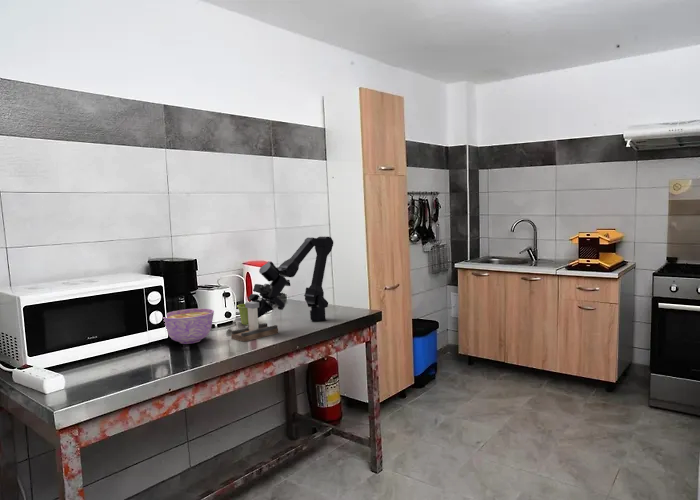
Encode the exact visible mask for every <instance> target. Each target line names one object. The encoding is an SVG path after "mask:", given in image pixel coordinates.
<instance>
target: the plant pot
mask: <svg viewBox="0 0 700 500" xmlns="http://www.w3.org/2000/svg"><path fill="white" fill-rule="evenodd" d="M236 307H237V308H238V311H239V317H240V321H241V325H246V326H247V325H248V326H249V323H248V308H246V307H245V303H240V304H238V305H237V306H236Z"/></svg>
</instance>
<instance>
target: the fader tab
mask: <svg viewBox="0 0 700 500" xmlns="http://www.w3.org/2000/svg"><path fill="white" fill-rule="evenodd" d="M244 304H245V307H246V308H248V323H249V325H248V327H249V331H253V330H257V329H259V328H258V325H259V318H258V312H257V308H259V302H252V301H251V300H250V301H248V302H247V301H246V302H245V303H244Z"/></svg>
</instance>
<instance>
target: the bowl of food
mask: <svg viewBox="0 0 700 500" xmlns="http://www.w3.org/2000/svg"><path fill="white" fill-rule="evenodd" d="M214 312H215V311H214V310H213V309H211V308H187V309H179V310H173V311H169V312H167V318H166V317H162V320H163V319H164V320H163V323H164V322H165V323H164V326H166V327H165V330H166V329H167V330H166V331H167V335H168V336H169V338H171V340H173V341H174V342H178V343H179V344H182V345H189V344H195V343H199V342H201V341H202V340H203V339H205V338H206V337H208V335H209V334H210V332H211V330H212V326H213V325H212V324H213V320H214V314H215V313H214Z"/></svg>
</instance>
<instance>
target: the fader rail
mask: <svg viewBox="0 0 700 500" xmlns="http://www.w3.org/2000/svg"><path fill="white" fill-rule="evenodd" d="M258 328H259V329H257V330H253V331H249V326H247V327H243V328H238V329H234V330H231V334H230V336H231V339H232V340H236V341H239V342H248V341H251V340H256V339H260V338H263V337H269V336H272V335H277V334H279V328H278V325H277V324H274V325H270V326H268V323H266V322H265V323H260V324H258Z"/></svg>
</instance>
